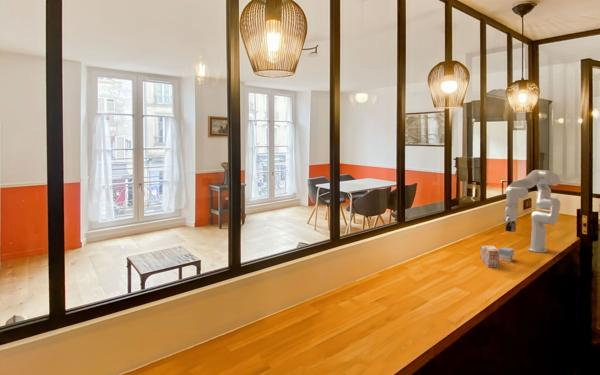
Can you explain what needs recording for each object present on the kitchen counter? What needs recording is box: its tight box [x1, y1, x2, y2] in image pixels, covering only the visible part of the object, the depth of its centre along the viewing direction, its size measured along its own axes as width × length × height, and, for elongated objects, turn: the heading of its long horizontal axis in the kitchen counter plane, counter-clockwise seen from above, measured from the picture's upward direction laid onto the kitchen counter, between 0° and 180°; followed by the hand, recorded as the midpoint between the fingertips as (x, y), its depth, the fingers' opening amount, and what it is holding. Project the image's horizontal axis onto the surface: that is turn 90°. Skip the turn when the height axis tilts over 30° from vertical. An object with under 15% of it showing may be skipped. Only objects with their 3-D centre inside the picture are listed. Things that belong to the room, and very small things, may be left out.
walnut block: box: [504, 222, 517, 233], centre depth 272 cm, size 5×5×6 cm
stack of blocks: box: [479, 245, 500, 269], centre depth 268 cm, size 21×6×12 cm, turn 169°
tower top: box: [498, 246, 515, 256], centre depth 275 cm, size 7×7×4 cm
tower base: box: [499, 254, 515, 263], centre depth 276 cm, size 7×7×4 cm
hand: (510, 230), depth 273 cm, fingers closed on walnut block, 5 cm apart
